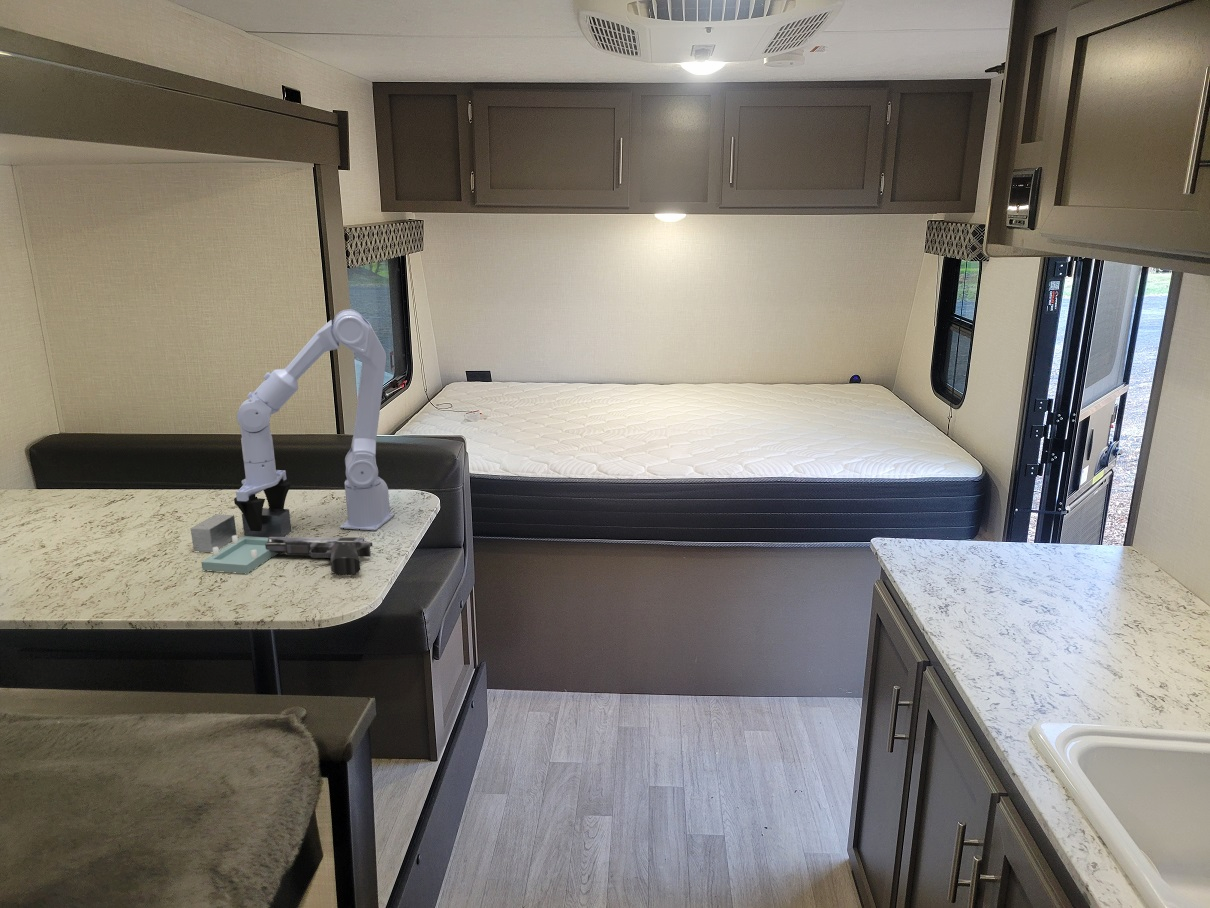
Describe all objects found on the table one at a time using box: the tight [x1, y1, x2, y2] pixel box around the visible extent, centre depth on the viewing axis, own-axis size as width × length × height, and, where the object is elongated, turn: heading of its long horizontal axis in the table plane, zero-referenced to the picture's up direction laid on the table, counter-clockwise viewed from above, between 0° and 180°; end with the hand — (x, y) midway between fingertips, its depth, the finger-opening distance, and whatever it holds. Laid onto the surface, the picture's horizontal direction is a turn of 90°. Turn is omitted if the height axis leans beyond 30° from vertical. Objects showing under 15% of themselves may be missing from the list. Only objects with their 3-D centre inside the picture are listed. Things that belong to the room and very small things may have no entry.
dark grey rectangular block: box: [241, 507, 292, 538], centre depth 170 cm, size 8×4×5 cm, turn 82°
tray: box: [201, 534, 277, 575], centre depth 158 cm, size 13×9×3 cm
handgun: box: [265, 536, 373, 576], centre depth 155 cm, size 3×21×12 cm
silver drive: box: [190, 513, 238, 553], centre depth 165 cm, size 8×4×5 cm, turn 171°
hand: (266, 523), depth 170 cm, fingers open, 7 cm apart
